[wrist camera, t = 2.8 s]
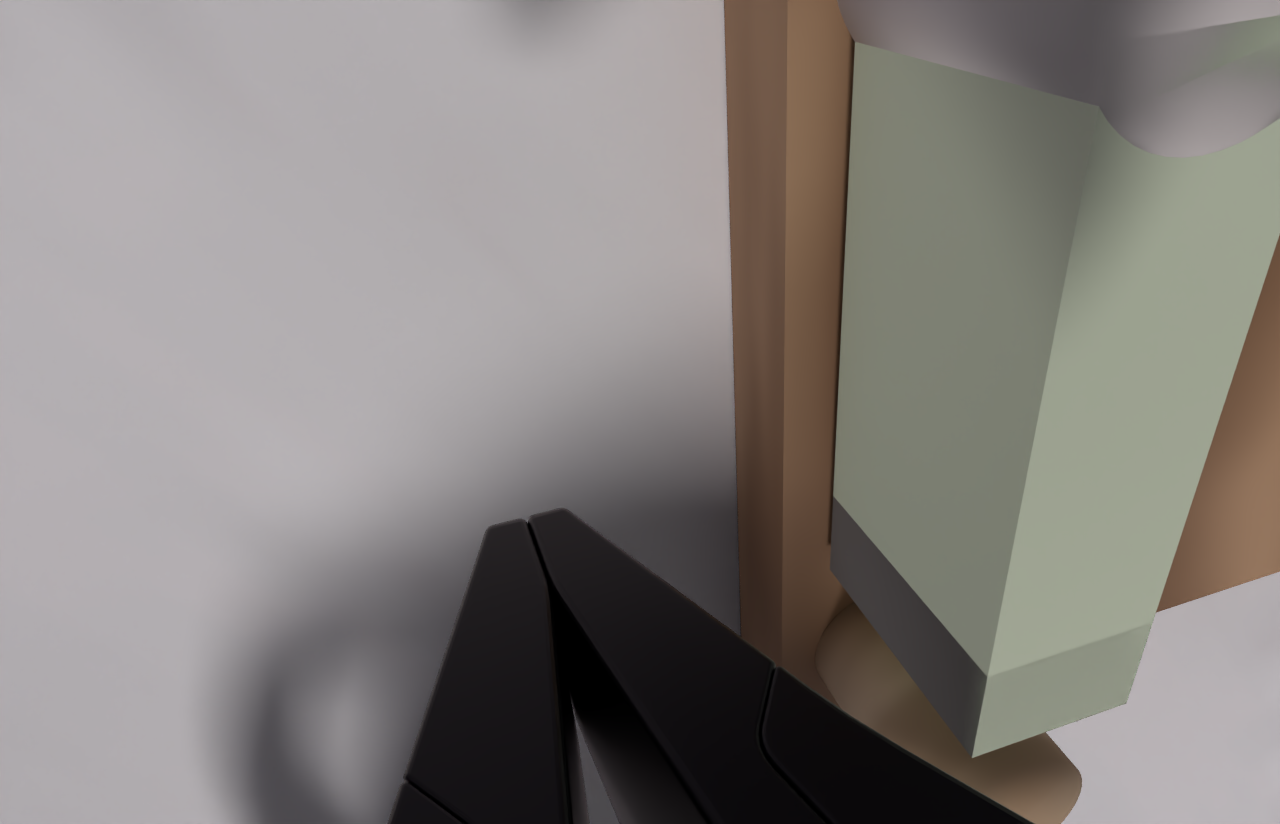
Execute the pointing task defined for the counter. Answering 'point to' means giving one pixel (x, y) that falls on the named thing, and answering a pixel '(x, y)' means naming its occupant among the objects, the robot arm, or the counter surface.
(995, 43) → the hinged leg
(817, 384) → the stool seat
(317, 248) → the counter surface
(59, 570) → the counter surface
